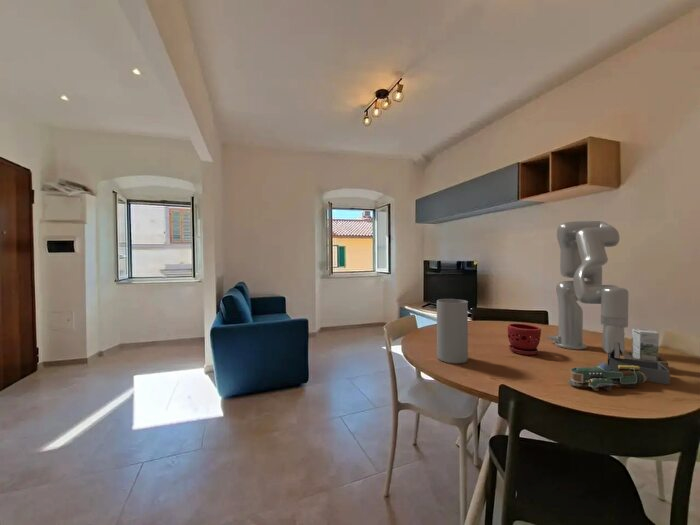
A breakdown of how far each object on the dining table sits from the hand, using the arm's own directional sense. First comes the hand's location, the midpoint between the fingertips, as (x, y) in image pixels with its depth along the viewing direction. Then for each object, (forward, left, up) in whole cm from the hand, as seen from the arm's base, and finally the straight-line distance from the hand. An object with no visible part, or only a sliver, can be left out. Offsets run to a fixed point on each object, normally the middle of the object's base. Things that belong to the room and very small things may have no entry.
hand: (613, 370), depth 111 cm
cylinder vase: (-55, -12, -2) cm, 56 cm away
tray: (+9, +3, -1) cm, 10 cm away
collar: (+12, +16, -1) cm, 20 cm away
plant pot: (-29, +14, -2) cm, 32 cm away
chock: (+1, -4, -1) cm, 4 cm away
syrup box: (+12, +16, -2) cm, 20 cm away
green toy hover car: (-4, -14, -2) cm, 14 cm away
